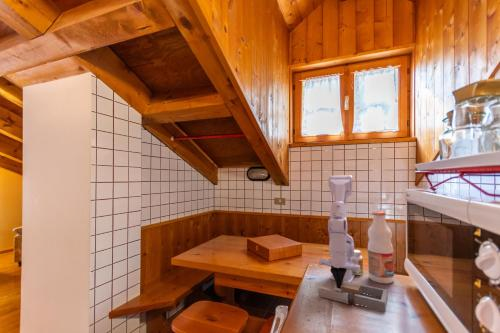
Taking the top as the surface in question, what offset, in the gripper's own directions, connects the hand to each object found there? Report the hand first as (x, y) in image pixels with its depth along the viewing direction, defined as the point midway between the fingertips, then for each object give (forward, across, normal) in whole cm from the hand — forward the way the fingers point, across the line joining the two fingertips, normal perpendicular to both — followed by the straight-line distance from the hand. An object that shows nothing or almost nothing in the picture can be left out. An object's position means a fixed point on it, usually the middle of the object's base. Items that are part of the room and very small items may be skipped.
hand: (339, 287), depth 93 cm
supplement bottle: (+2, +2, +24) cm, 24 cm away
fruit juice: (+2, +12, +22) cm, 25 cm away
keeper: (+2, 0, -6) cm, 7 cm away
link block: (+2, +4, 0) cm, 5 cm away
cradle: (+2, +11, 0) cm, 11 cm away
